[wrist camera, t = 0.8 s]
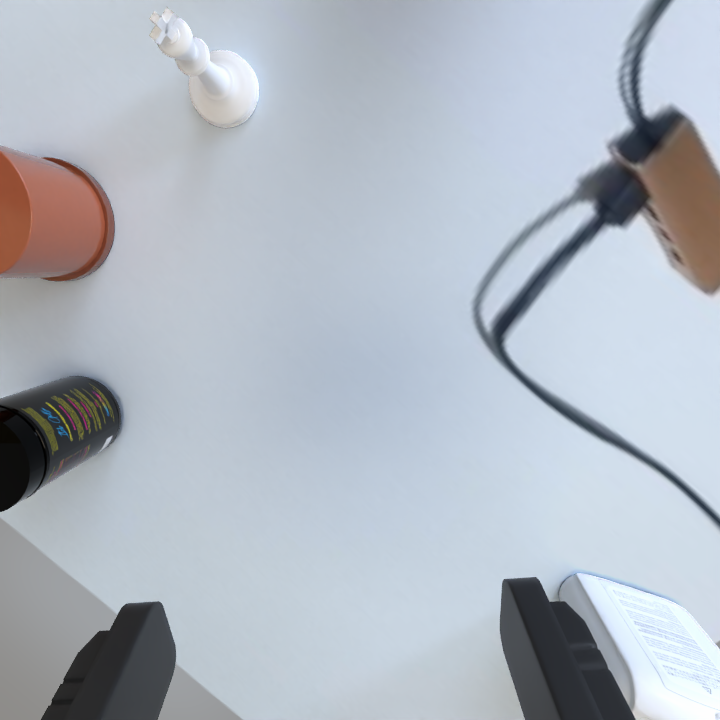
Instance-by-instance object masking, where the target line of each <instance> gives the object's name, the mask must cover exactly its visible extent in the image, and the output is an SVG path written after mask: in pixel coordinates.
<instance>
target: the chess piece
mask: <svg viewBox="0 0 720 720" xmlns="http://www.w3.org/2000/svg"><path fill="white" fill-rule="evenodd" d="M149 19H150V20H151V21H152V22H153V23H154V24H155V27H154V28H153V30H152V31H151V33H150V35H149V36H150V37H151V38H152V39H153V40H154V41H156V42H157V44H158V46H159V48H160V50H161V51H162V52H163V53H164V54H165V55H167V56H169V57H171V58H175V61H176V64H177V66H178V68H179V69H180V70H181V71H182V72H183V73H184V74H186V75H189V76H190V78H189V93H190V97H191V100H192V103H193V105H194V107H195V108H196V110H197V111H198V113H199V114H200V115H201V116H202V117H203V118H204V119H205V120H206V121H207V122H209V123H210V124H212V125H214V126H217V127H222V128H231V127H235V126H238V125H240V124H242V123H243V122H245V121H246V120H247V119H248V118H249V117H250V116H251V115H252V113H253V112H254V110H255V108H256V105H257V102H258V97H259V85H258V80H257V77H256V74H255V72H254V70H253V69H252V67H251V66H250V65H249V64H248V62H246V61H245V60H244V59H243V58H242V57H240V56H239V55H237V54H236V53H233V52H231V51H227V50H215V51H211V52H209V50H208V47H207V45H206V44H205V43H204V42H203V41H202V40H201V39H199V38H197V37H194V36H192V32H191V30H190V28H189V26H188V25H187V23H186V22H185V21H184V20H182V19H180V18H178V17H177V16H176V15H175V13H174V12H173V11H171V10H170V9H169V8H168V7H166V9H165V11H164V12H163V14H162V15H161V16H159V15H158V14H157V13H156V12H155V11H154V12H153V14H152V15H151V17H150V18H149Z"/></svg>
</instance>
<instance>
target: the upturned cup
mask: <svg viewBox="0 0 720 720" xmlns="http://www.w3.org/2000/svg"><path fill="white" fill-rule="evenodd" d="M113 239H114V216H113V212H112V208H111V205H110V202H109V200H108V198H107V196H106V194H105V192H104V190H103V189H102V187H101V186H100V185H99V183H98V182H97V181H96V180H95V179H94V178H93V177H92V176H91V175H90V174H89V173H87V172H86V171H85V170H83V169H82V168H80V167H78V166H76V165H74V164H72V163H69V162H66V161H63V160H60V159H55V158H48V157H43V158H40V157H37V156H33V155H30V154H27V153H24V152H21V151H18V150H14V149H11V148H8V147H5V146H2V145H0V279H6V278H42V279H45V280H49V281H72V280H77V279H80V278H83V277H85V276H87V275H89V274H91V273H92V272H94V271H95V270H96V269H97V268H98V267H99V266H100V265H101V264H102V263H103V262H104V260H105V259H106V257H107V256H108V254H109V252H110V249H111V247H112V243H113Z"/></svg>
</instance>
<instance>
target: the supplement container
mask: <svg viewBox="0 0 720 720" xmlns="http://www.w3.org/2000/svg"><path fill="white" fill-rule="evenodd" d="M120 424H121V414H120V409H119V405H118V403H117V401H116V399H115V397H114V396H113V394H112V393H111V392H110V391H109V390H108V389H107V388H106V387H105V386H104V385H102V384H101V383H99V382H98V381H96V380H93V379H91V378H87V377H82V376H69V377H65V378H62V379H59V380H56V381H52V382H49V383H46V384H43V385H40V386H37V387H34V388H31V389H28V390H25V391H22V392H19V393H16V394H13V395H9V396H6V397H3V398H0V512H2V511H5V510H7V509H9V508H11V507H12V506H14V505H16V504H17V503H19V502H20V501H22V500H24V499H26V498H28V497H29V496H31V495H33V494H34V493H35V492H36V491H37V490H39V489H41V488H42V487H44V486H45V485H47V484H49V483H50V482H52V481H53V480H55V479H57V478H58V477H60V476H62V475H63V474H65V473H66V472H68V471H70V470H71V469H73V468H75V467H76V466H78V465H79V464H81V463H83V462H84V461H86V460H88V459H89V458H91V457H92V456H94V455H96V454H97V453H99V452H101V451H102V450H104V449H105V448H107V447H108V446H109V445H110V444H111V443H112V442H113V441H114V439H115V438H116V436H117V434H118V432H119V429H120Z"/></svg>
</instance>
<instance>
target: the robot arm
mask: <svg viewBox="0 0 720 720" xmlns="http://www.w3.org/2000/svg"><path fill="white" fill-rule="evenodd" d="M500 635H501V641H502V646H503V651H504V654H505V658H506V661H507V664H508V667H509V670H510V673H511V677H512V680H513V683H514V686H515V689H516V692H517V695H518V699H519V702H520V705H521V708H522V711H523V714H524V717H525V720H636V719H635V717H634V715H633V713H632V711H631V709H630V707H629V705H628V703H627V701H626V699H625V698H624V696H623V694H622V692H621V690H620V688H619V686H618V684H617V682H616V680H615V678H614V676H613V674H612V672H611V671H610V670H609V669H608V665H607V663H606V661H605V659H604V657H603V655H602V653H601V651H600V650H598V647H597V644H596V642H595V640H594V638H593V636H592V634H591V632H590V630H589V628H588V626H587V624H586V622H585V621H584V620H583V619H582V618H581V617H580V616H579V615H578V614H577V613H576V612H575V611H574V610H573V609H572V608H571V607H570V606H569V605H568V604H567V603H566V602H565V601H559V602H549V600H548V598H547V596H546V594H545V591H544V589H543V587H542V585H541V583H540V581H539V580H538V579H537V578H536V577H530V578H515V579H504V580H503V583H502V597H501V613H500ZM175 662H176V648H175V643H174V640H173V636H172V633H171V630H170V627H169V624H168V620H167V617H166V614H165V611H164V608H163V605H162V603H161V602H159V601H158V602H143V603H128V604H125V605H124V606H123V607H122V608H121V610H120V611H119V613H118V615H117V617H116V619H115V621H114V623H113V625H112V627H111V629H110V630H109V631H99V632H98V633H97V634H96V635H95V636H94V637H93V638H92V639H91V640H90V641H89V642H88V643H87V644H86V645H85V646H84V647H83V649H82V650H81V651H80V652H79V653H78V654H77V656H76V658H75V659H74V661H73V663H72V665H71V667H70V669H69V670H68V672H67V674H66V676H65V678H64V682H63V684H61V685H60V686H59V688H58V690H57V692H56V693H55V695H54V697H53V699H52V704H51V705H50V706H48V708H47V710H46V711H45V713H44V715H43V717H42V719H41V720H157V719H158V717H159V714H160V711H161V708H162V705H163V702H164V699H165V696H166V694H167V691H168V688H169V685H170V682H171V679H172V676H173V672H174V668H175Z"/></svg>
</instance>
